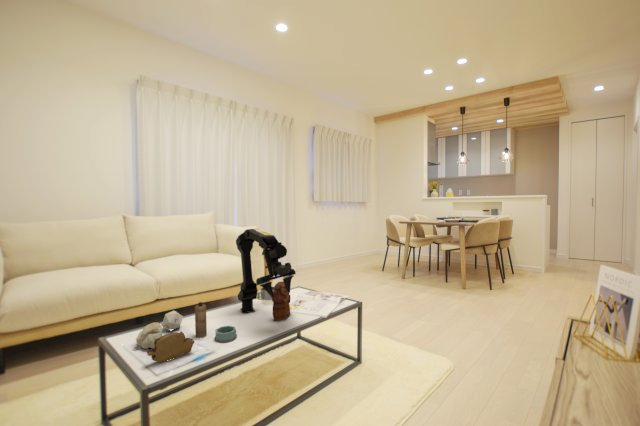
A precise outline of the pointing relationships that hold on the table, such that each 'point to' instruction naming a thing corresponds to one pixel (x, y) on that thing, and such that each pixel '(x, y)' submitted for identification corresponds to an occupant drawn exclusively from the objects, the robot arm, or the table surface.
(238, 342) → the table surface
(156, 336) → the fossil replica
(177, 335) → the wooden carving
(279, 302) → the wooden figurine
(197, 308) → the walnut peg
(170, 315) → the die
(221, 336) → the teal bowl
